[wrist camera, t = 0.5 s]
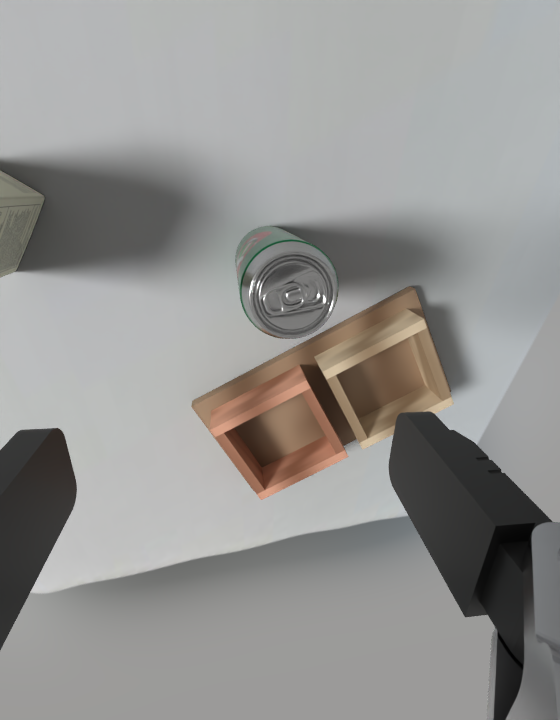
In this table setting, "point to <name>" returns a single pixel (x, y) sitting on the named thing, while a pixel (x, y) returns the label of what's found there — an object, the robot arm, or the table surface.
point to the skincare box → (16, 220)
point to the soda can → (285, 283)
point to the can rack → (328, 395)
